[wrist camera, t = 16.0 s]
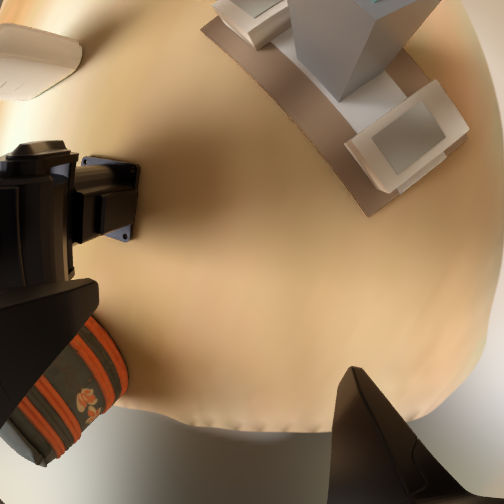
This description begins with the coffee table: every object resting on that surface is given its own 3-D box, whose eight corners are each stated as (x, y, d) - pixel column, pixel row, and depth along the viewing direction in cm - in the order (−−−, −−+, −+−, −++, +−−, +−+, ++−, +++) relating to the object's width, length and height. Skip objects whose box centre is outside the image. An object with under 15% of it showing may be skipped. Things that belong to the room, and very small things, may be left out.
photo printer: (27, 105, 20) (-57, 108, 9) (30, 74, 19) (-50, 69, 7) (82, 72, 18) (-23, 55, 7) (86, 37, 17) (-8, 10, 5)
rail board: (463, 139, 14) (493, 136, 10) (366, 215, 18) (380, 228, 14) (302, -30, 12) (298, -60, 8) (203, 33, 16) (181, 10, 12)
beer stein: (51, 367, 33) (-22, 437, 14) (20, 285, 29) (-79, 348, 10) (143, 406, 29) (65, 520, 11) (111, 308, 25) (-31, 435, 6)
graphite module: (338, 102, 15) (376, 19, 5) (296, 58, 14) (275, -53, 4) (382, 72, 14) (453, -14, 3) (341, 30, 13) (361, -81, 3)
